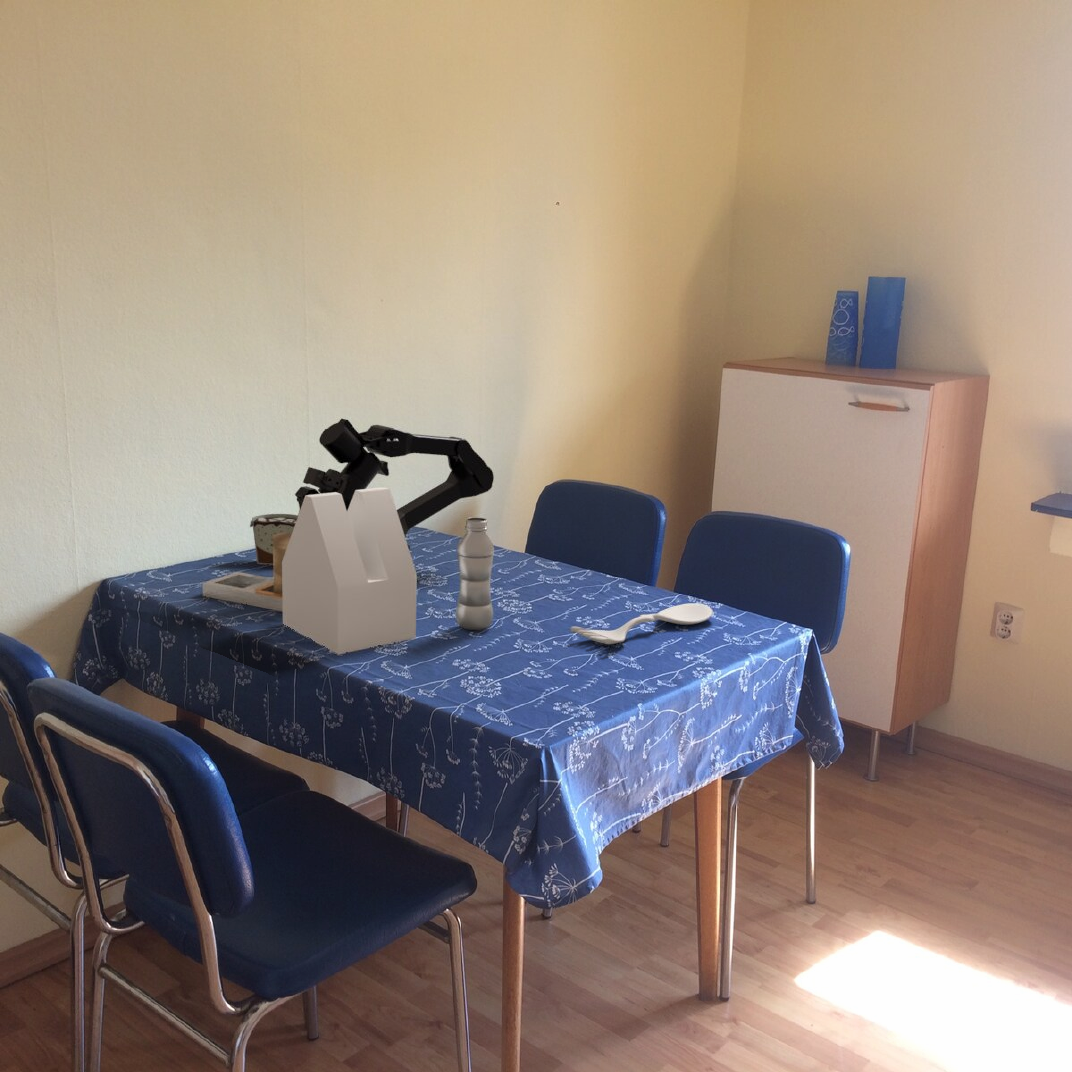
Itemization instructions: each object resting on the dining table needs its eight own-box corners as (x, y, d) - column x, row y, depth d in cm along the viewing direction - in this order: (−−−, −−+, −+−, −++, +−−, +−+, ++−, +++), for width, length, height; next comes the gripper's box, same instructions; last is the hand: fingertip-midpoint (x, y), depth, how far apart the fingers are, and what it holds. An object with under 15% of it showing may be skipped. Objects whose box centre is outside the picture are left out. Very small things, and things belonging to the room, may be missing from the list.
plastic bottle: (495, 633, 197) (498, 523, 192) (456, 634, 195) (459, 523, 191) (490, 622, 203) (493, 515, 198) (453, 623, 202) (455, 515, 197)
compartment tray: (324, 600, 212) (324, 586, 212) (292, 613, 204) (291, 598, 203) (237, 584, 221) (237, 570, 220) (202, 595, 212) (202, 581, 211)
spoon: (568, 643, 194) (568, 624, 193) (684, 611, 215) (686, 594, 214) (605, 657, 187) (606, 638, 186) (722, 622, 209) (723, 605, 208)
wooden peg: (304, 599, 212) (303, 533, 209) (296, 607, 207) (295, 539, 204) (278, 598, 213) (277, 532, 210) (270, 605, 208) (269, 538, 205)
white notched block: (415, 638, 193) (417, 497, 187) (338, 655, 183) (337, 506, 177) (357, 611, 207) (358, 479, 201) (282, 625, 197) (280, 486, 192)
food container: (315, 559, 242) (315, 515, 239) (307, 567, 236) (306, 521, 233) (260, 556, 243) (259, 511, 240) (250, 563, 237) (249, 517, 234)
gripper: (303, 445, 216) (253, 507, 212) (356, 458, 203) (305, 525, 198) (337, 481, 224) (290, 541, 219) (392, 496, 210) (342, 561, 205)
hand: (305, 541), depth 210 cm, fingers open, 9 cm apart
